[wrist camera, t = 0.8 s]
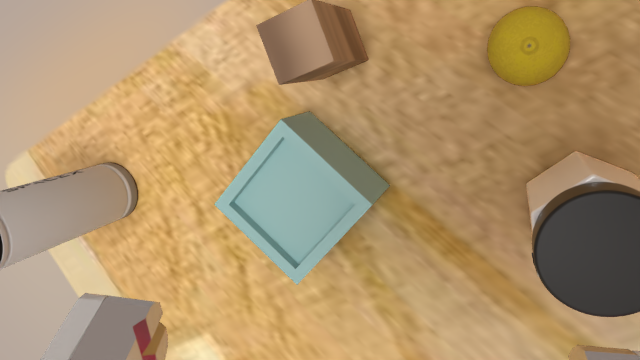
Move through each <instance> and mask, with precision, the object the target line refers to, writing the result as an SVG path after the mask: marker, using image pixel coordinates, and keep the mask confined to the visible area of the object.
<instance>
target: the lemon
mask: <svg viewBox="0 0 640 360" xmlns="http://www.w3.org/2000/svg"><path fill="white" fill-rule="evenodd" d="M569 50H570V36H569V32H568V28H567V27H566V25H565V23H564V22H563V20H562V19H561V18H560V17H559V16H558V15H557V14H556V13H554V12H552V11H550V10H548V9H546V8H542V7H537V6H531V7H523V8H519V9H516V10H514V11H512V12H510V13H508V14H507V15H505V16H504V17H503V18H502V19H501V20H500V21H499V22H498V23H497V24H496V26H495V27H494V29H493V30H492V32H491V35H490V37H489V40H488V47H487V52H488V59H489V62H490V64H491V67H492V69H493V70H494V71H495V72H496V74H497V75H498V76H499V77H501V78H502V79H503V80H505V81H507V82H509V83H512V84H514V85H521V86H529V85H536V84H539V83H542V82H544V81H546V80H548V79H549V78H551V77H553V76H554V75H555V74H556V73H557V72H558V71H559V70H560V69H561V68H562V66H563V64H564V63H565V61H566V59H567V57H568V53H569Z"/></svg>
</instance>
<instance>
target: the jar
mask: <svg viewBox="0 0 640 360" xmlns="http://www.w3.org/2000/svg"><path fill="white" fill-rule="evenodd" d="M526 189H527V198H528V207H529V216H530V226H531V235H532V249H533V253H532V257H533V263H534V265H535V268H536V271H537V275H538V277H540V279H541V281H542V283H543V284H544V286H545V287H546V288H547V290H548V291H549V292H550V293H551V294H552V295H553V296H554V297H555V298H556V299H558V300H559V301H560V302H562V303H563V304H565V305H567V306H568V307H570V308H572V309H574V310H577V311H579V312H582V313H585V314H589V315H594V316H601V317H618V316H625V315H630V314H634V313H637V312H640V179H639V178H638V177H637V176H636V175H635V174H634V173H632V172H630V171H627V170H625V169H622V168H619V167H617V166H614V165H612V164H609V163H606V162H604V161H601V160H599V159H596V158H593V157H591V156H588V155H586V154H583V153H580V152H578V151H575V152H573V153H571V154H570V155H568V156H567V157H565V158H564V159H562V160H561V161H559V162H558V163H556V164H555V165H553V166H552V167H550V168H549V169H547V170H546V171H544V172H543V173H541V174H540V175H538V176H536V177H535V178H533V179H532V180H530V181H529V182H527V184H526Z"/></svg>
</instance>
